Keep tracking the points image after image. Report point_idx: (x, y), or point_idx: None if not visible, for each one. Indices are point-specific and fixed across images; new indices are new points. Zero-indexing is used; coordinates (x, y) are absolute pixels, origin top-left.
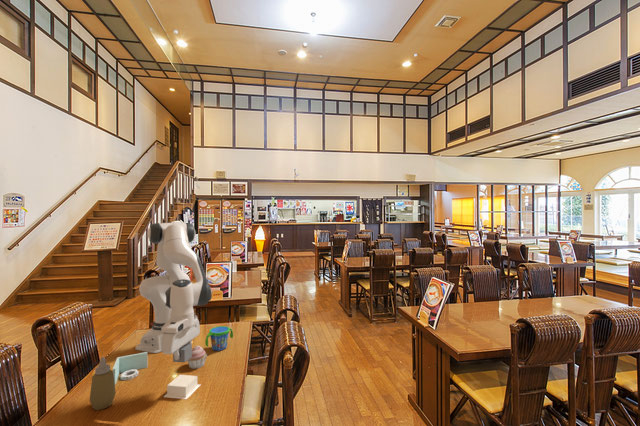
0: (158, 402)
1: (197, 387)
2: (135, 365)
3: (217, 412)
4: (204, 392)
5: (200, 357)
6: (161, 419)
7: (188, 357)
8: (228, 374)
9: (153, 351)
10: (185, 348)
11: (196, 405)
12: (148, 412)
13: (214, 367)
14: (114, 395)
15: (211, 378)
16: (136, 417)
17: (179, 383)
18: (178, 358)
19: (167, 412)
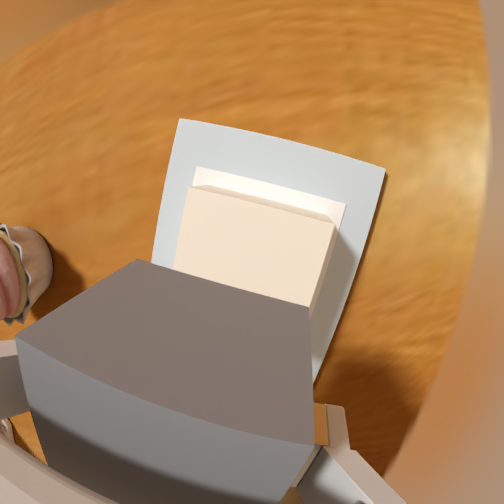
0: (331, 345)
1: (226, 177)
2: None
3: (442, 32)
4: (268, 123)
5: (4, 246)
6: (463, 277)
7: (210, 292)
8: (101, 60)
9: (8, 429)
10: (226, 442)
11: (391, 136)
12: (400, 354)
13: (35, 165)
14: (300, 498)
15: (125, 135)
16: (418, 382)
17: (280, 285)
18: (343, 414)
19: (423, 270)
